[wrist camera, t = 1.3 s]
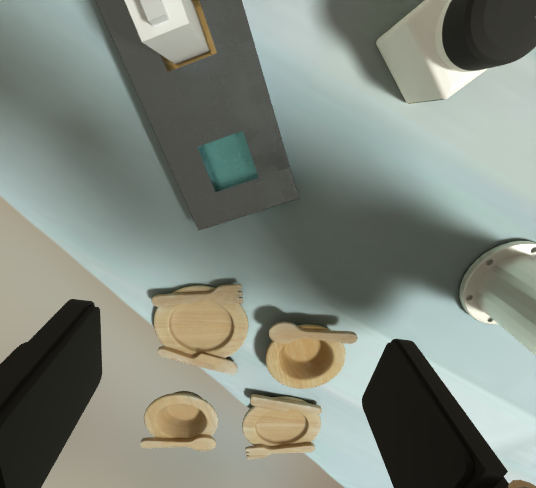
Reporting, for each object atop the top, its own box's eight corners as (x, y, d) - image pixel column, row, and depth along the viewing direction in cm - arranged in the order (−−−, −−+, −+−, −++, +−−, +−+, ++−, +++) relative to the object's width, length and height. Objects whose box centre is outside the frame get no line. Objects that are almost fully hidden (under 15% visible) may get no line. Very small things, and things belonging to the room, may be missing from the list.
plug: (195, 8, 27) (161, -51, 18) (210, 51, 28) (185, 18, 19) (159, 22, 27) (108, -28, 18) (176, 64, 29) (136, 38, 19)
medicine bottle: (406, 105, 31) (486, 96, 20) (373, 42, 29) (444, -8, 18) (469, 57, 29) (594, 20, 18) (439, -13, 27) (562, -105, 16)
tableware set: (307, 453, 54) (310, 477, 51) (148, 437, 52) (139, 462, 48) (365, 297, 41) (376, 315, 37) (155, 265, 38) (144, 281, 35)
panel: (221, -64, 25) (217, -83, 23) (296, 193, 34) (298, 198, 32) (99, -12, 27) (84, -25, 24) (202, 223, 36) (198, 230, 33)
